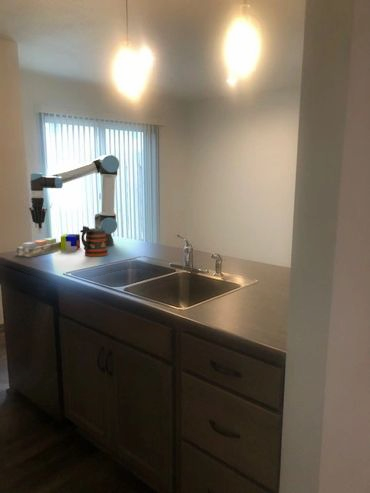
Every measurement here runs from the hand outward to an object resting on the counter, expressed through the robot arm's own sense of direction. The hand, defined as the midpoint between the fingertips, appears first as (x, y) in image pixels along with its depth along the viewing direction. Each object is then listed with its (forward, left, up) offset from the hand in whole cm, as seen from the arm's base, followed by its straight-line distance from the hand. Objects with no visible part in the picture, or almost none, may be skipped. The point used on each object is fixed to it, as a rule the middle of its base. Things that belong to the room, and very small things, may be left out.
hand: (38, 233), depth 250 cm
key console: (0, 0, -13) cm, 13 cm away
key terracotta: (0, 0, -9) cm, 9 cm away
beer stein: (-37, -8, -13) cm, 40 cm away
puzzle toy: (-12, -16, -13) cm, 24 cm away
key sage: (0, -9, -9) cm, 13 cm away
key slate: (0, +9, -9) cm, 13 cm away
